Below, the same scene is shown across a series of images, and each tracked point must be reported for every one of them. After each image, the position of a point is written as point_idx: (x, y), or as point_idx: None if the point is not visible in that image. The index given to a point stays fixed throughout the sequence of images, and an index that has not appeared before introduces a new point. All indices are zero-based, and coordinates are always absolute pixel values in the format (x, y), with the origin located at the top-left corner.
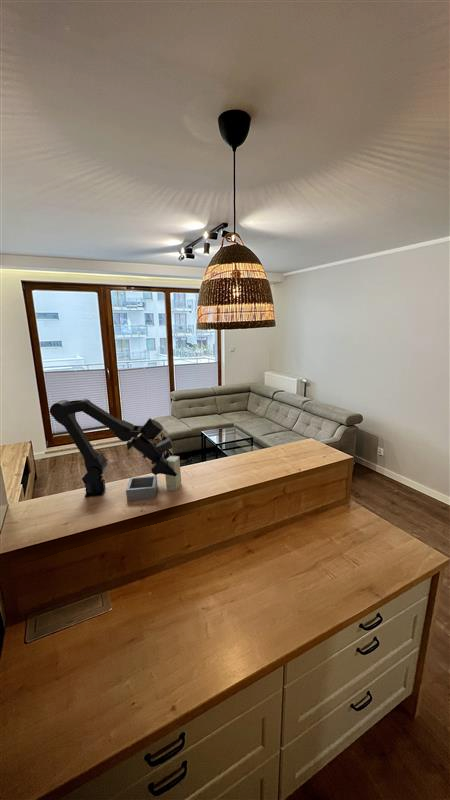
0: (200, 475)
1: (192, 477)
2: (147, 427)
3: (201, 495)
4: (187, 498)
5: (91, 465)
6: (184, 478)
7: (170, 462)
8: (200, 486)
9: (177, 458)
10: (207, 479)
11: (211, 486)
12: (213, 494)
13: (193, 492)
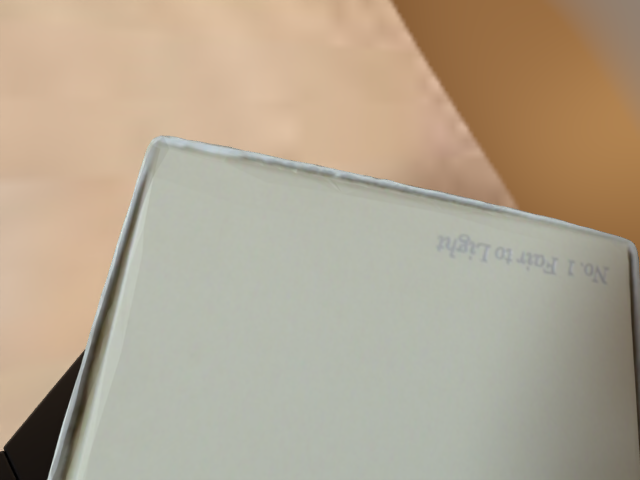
0: (17, 93)
1: (60, 174)
2: None
3: (413, 93)
4: (460, 189)
5: None
6: (75, 259)
7: (627, 368)
8: (273, 98)
9: (348, 186)
10: (132, 34)
11: (275, 16)
12: (396, 16)
13: (373, 150)
